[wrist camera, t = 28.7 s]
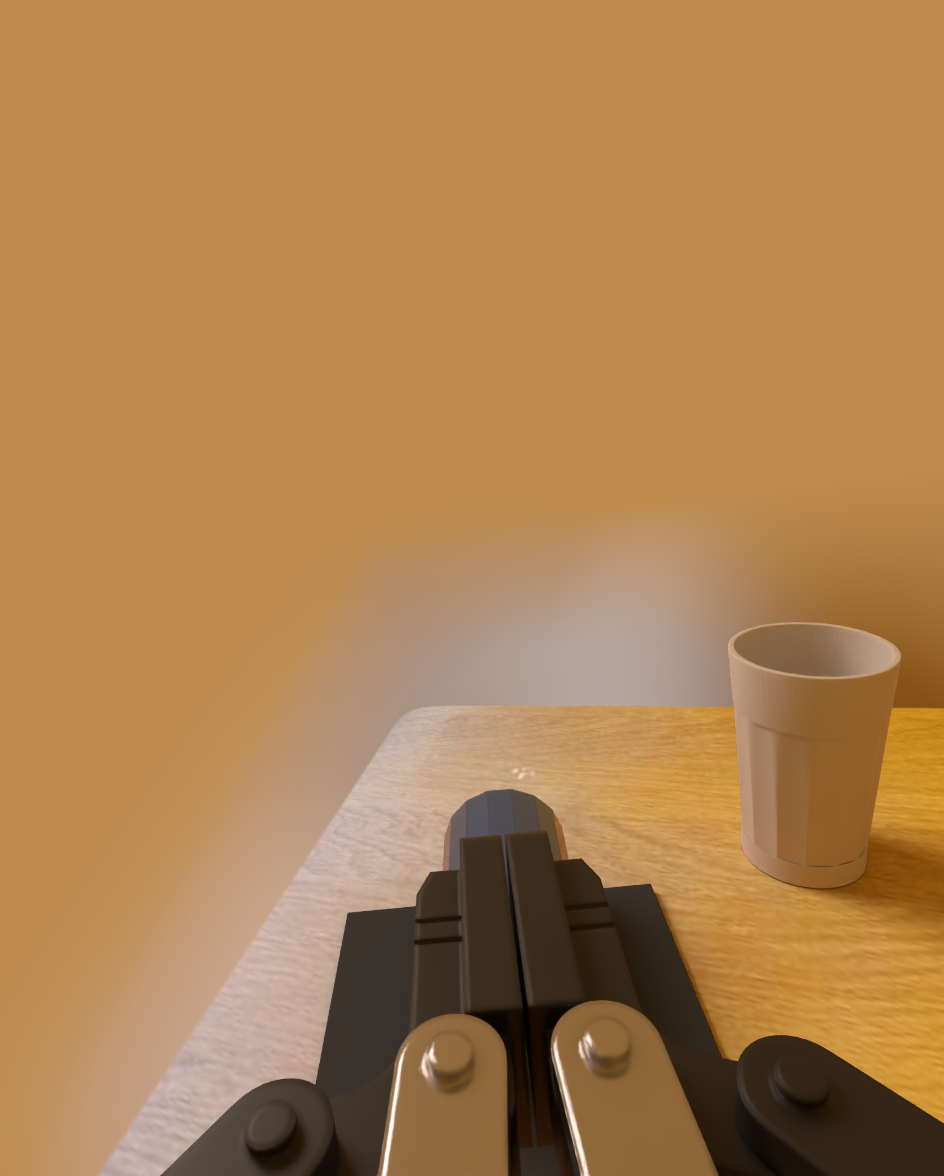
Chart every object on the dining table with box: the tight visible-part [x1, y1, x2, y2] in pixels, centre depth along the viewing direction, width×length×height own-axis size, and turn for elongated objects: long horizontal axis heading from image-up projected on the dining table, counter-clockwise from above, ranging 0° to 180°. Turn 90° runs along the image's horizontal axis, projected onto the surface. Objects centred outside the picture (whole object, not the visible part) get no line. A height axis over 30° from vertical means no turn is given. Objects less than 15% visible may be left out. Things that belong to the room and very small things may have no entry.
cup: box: [728, 622, 901, 888], centre depth 38 cm, size 8×8×12 cm
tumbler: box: [443, 789, 569, 1082], centre depth 32 cm, size 6×6×11 cm
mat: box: [316, 884, 722, 1176], centre depth 29 cm, size 16×18×1 cm
